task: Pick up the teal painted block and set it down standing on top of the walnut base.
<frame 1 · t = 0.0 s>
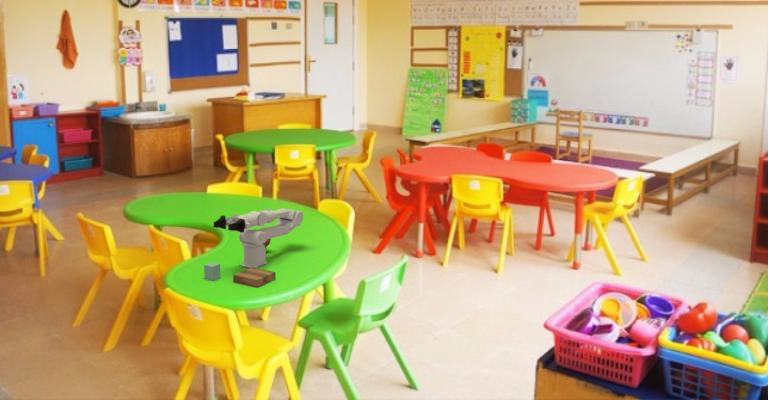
hand: (221, 226, 318), 22 cm above the table, tool horizontal, fingers open, 7 cm apart
walnut base: (254, 280, 320), on the table
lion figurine: (257, 254, 355), on the table
teal block: (212, 278, 322), on the table
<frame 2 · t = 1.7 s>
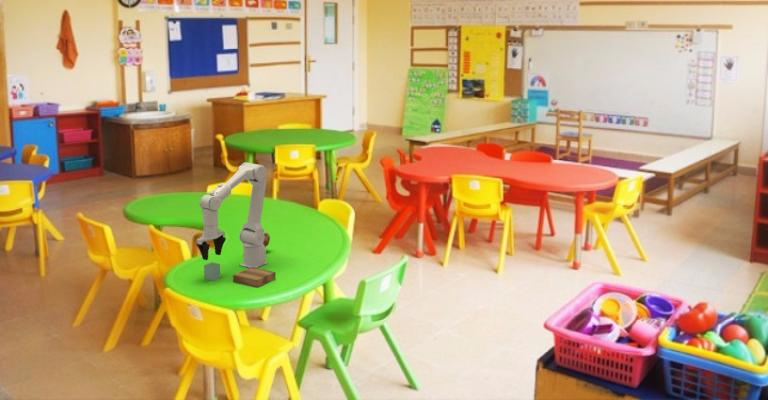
hand: (211, 257, 319), 9 cm above the table, tool pointing down, fingers open, 7 cm apart
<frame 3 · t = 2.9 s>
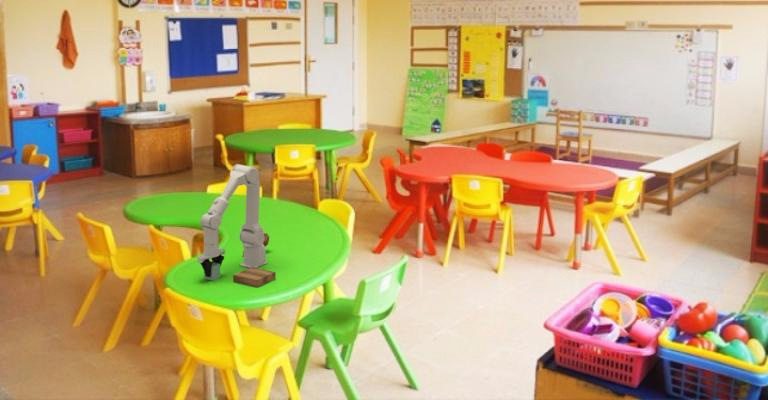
hand: (212, 274, 321), 1 cm above the table, tool pointing down, fingers closed on teal block, 4 cm apart
teal block: (212, 278, 322), on the table, touching gripper
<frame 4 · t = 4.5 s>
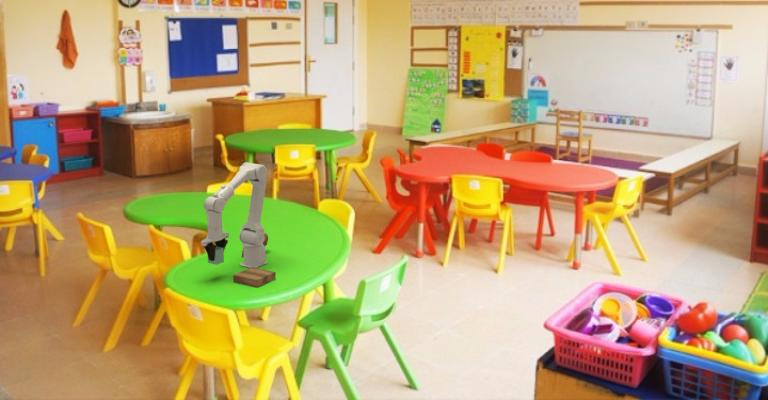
hand: (215, 258, 320), 8 cm above the table, tool pointing down, fingers closed on teal block, 4 cm apart
teal block: (215, 262, 320), point 7 cm above the table, touching gripper
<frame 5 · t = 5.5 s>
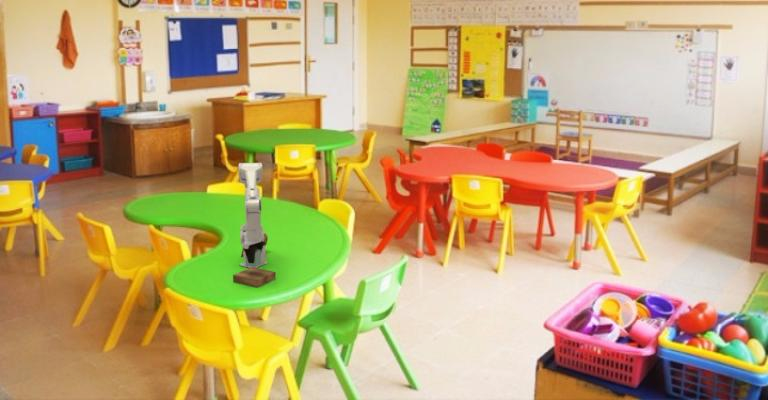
hand: (254, 261, 318), 8 cm above the table, tool pointing down, fingers closed on teal block, 4 cm apart
teal block: (253, 264, 319), point 7 cm above the table, touching gripper
when the fingers open (6 cm above the table, at t = 6.3 s): teal block drops 1 cm, resting on walnut base.
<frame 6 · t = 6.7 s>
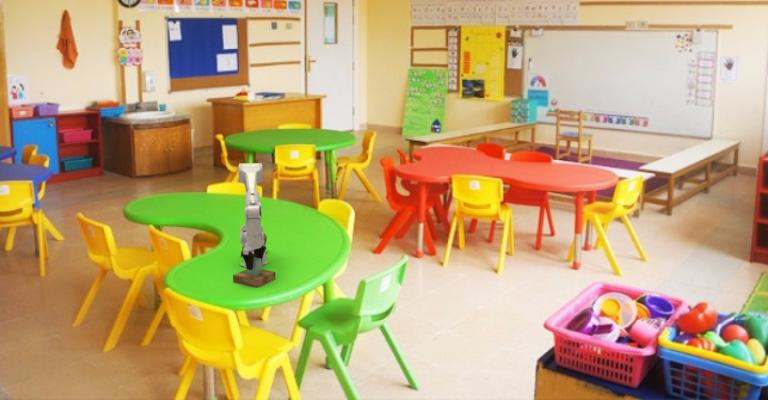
hand: (254, 266, 319), 6 cm above the table, tool pointing down, fingers open, 7 cm apart
teal block: (253, 273, 319), point 3 cm above the table, touching walnut base
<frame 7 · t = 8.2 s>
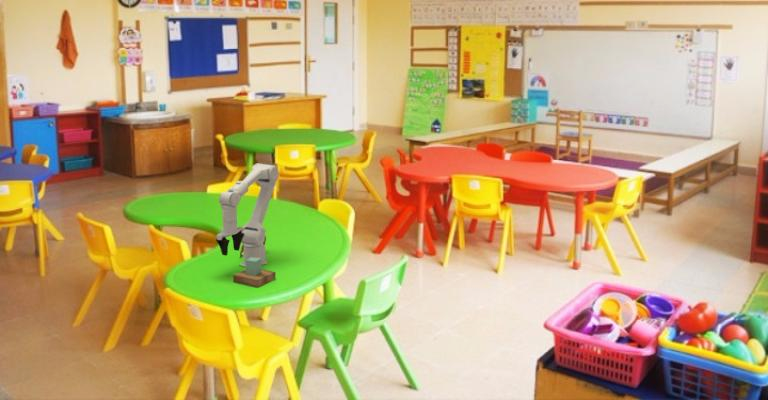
hand: (230, 252, 325), 9 cm above the table, tool pointing down, fingers open, 7 cm apart
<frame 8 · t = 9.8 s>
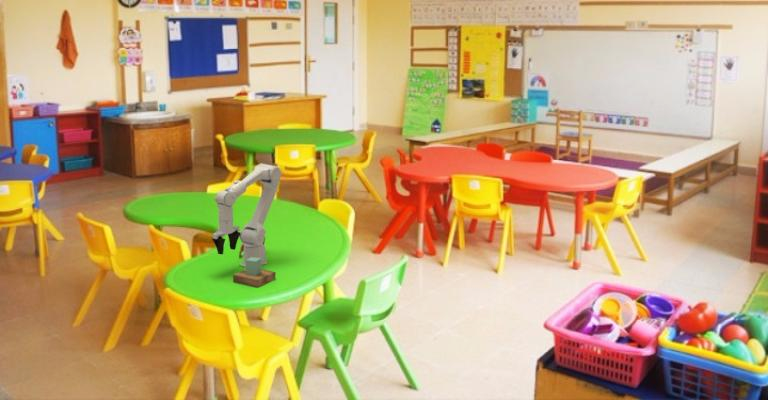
hand: (226, 251, 326), 9 cm above the table, tool pointing down, fingers open, 7 cm apart
at the end: teal block inside the target area on the walnut base (0.3 cm from its centre), point 3.0 cm above the walnut base's base; teal block tilted 0°; the gripper is holding nothing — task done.
